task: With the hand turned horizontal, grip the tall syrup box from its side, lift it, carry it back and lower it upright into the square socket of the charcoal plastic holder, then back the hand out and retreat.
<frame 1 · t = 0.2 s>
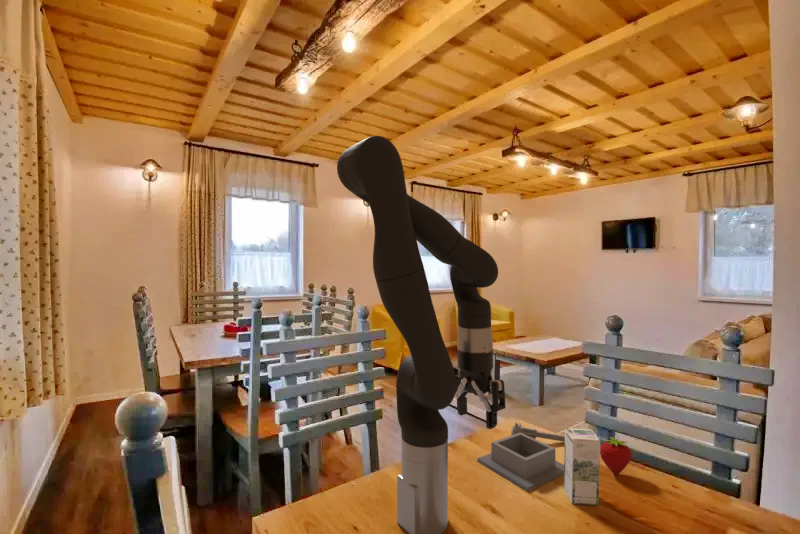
hand: (476, 420, 87), 18 cm above the table, tool pointing down, fingers open, 8 cm apart
holder: (522, 466, 102), on the table
syrup box: (580, 498, 88), on the table
caliper: (546, 444, 115), on the table
strawberry: (615, 475, 98), on the table
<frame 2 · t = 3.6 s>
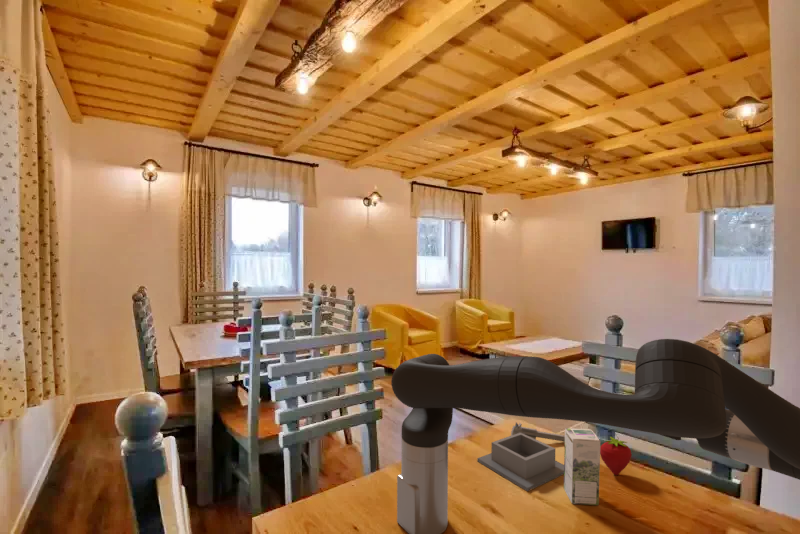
hand: (635, 406, 79), 24 cm above the table, tool horizontal, fingers open, 8 cm apart
nothing on the table moved.
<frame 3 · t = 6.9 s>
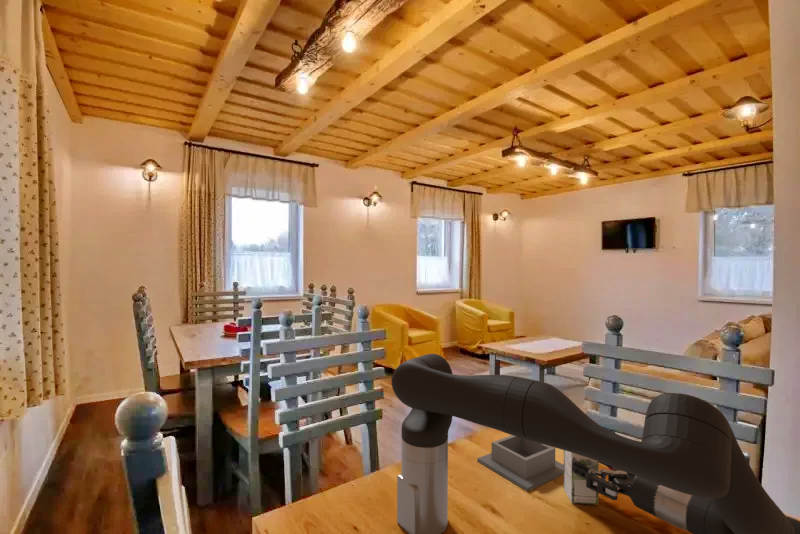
hand: (584, 460, 88), 8 cm above the table, tool horizontal, fingers open, 8 cm apart
syrup box: (580, 498, 88), on the table, touching gripper
everything else where it was.
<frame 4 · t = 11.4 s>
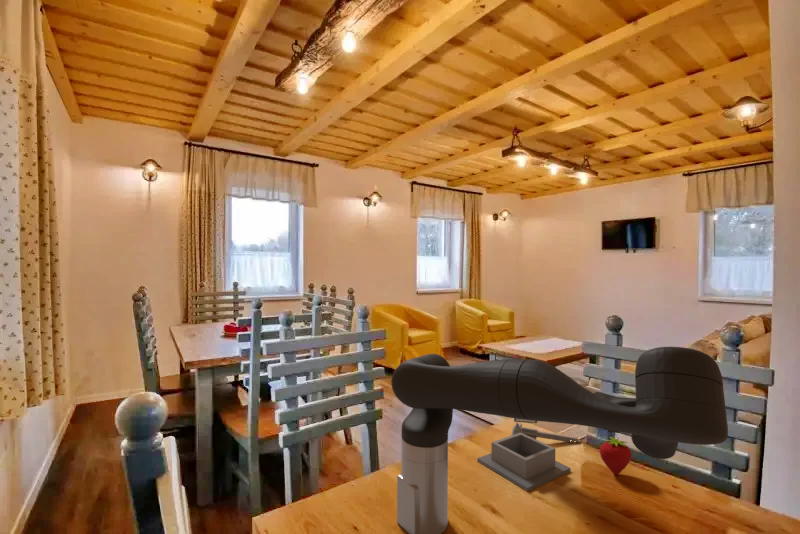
hand: (518, 383, 103), 21 cm above the table, tool horizontal, fingers closed on syrup box, 8 cm apart
syrup box: (524, 419, 101), point 12 cm above the table, touching gripper
everything else where it was.
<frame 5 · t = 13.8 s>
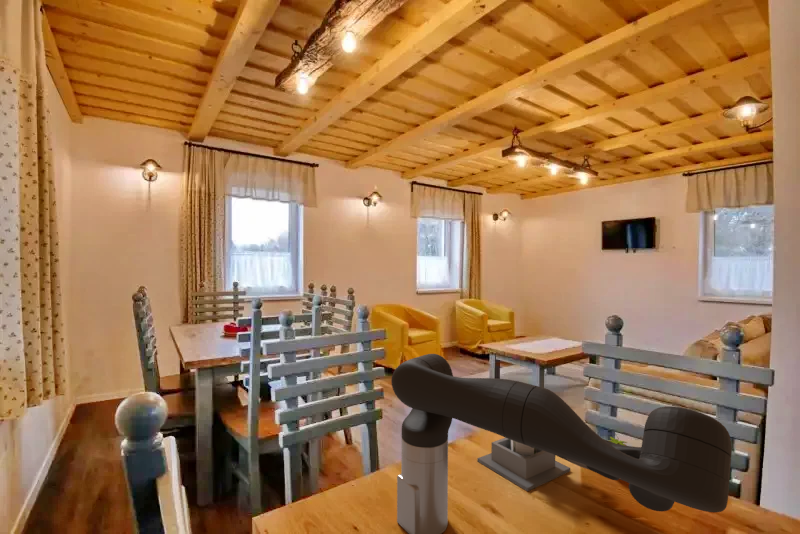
hand: (517, 421, 103), 11 cm above the table, tool horizontal, fingers closed on syrup box, 8 cm apart
syrup box: (523, 457, 102), point 2 cm above the table, touching gripper
everything else where it was.
when the fingers open (11 cm above the table, at t = 15.0 s): syrup box drops 1 cm, resting on holder.
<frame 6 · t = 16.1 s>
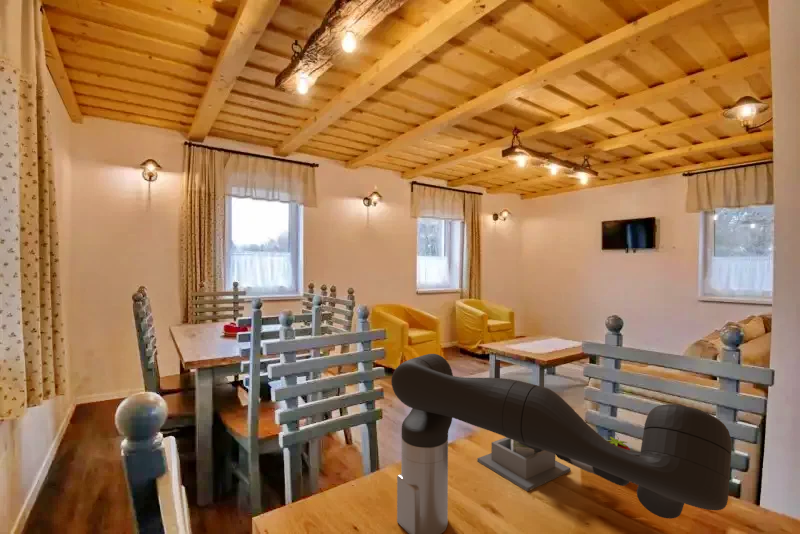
hand: (522, 423, 102), 11 cm above the table, tool horizontal, fingers open, 8 cm apart
syrup box: (523, 463, 102), point 1 cm above the table, touching gripper, holder
everything else where it was.
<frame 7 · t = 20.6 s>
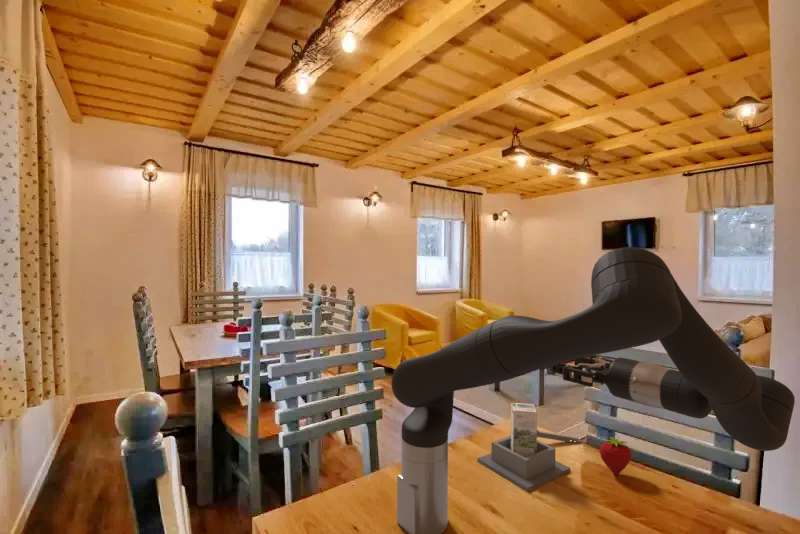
hand: (563, 363, 87), 30 cm above the table, tool horizontal, fingers open, 8 cm apart
syrup box: (523, 463, 102), point 1 cm above the table, touching holder
everything else where it was.
at the end: syrup box 0.1 cm off-centre on the holder, point 0.6 cm above the holder's base; syrup box tilted 0°; the gripper is holding nothing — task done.
